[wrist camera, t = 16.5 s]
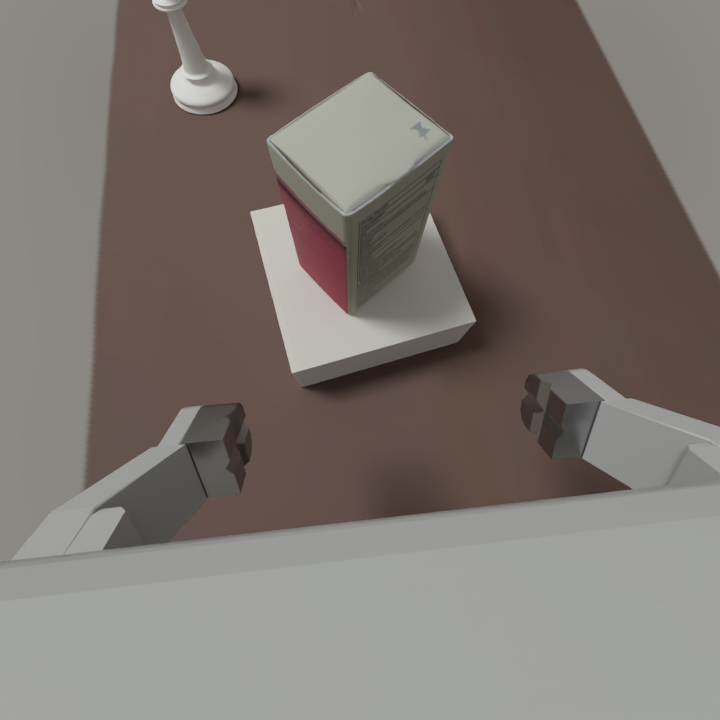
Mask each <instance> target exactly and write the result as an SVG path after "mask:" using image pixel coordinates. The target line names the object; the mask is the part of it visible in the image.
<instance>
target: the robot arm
mask: <svg viewBox="0 0 720 720" xmlns="http://www.w3.org/2000/svg"><path fill="white" fill-rule="evenodd" d="M525 389H526V390H527V392H528V394H527V395H526V396H525V397H524V399H523V400H522V403H521V416H522V420H523V423H524V425H525V426H526V428H527V429H528V430H529V432H531V433H533V434H535V435H537V436H539V439H538V443H539V444H540V446H541V447H542V448H543V449H544V451H545V452H546V453H547V454H548V456H549V457H550V458H551V459H563V458H575V457H583V459H584V460H586V461H588V462H589V463H591V464H593V465H594V466H596V467H597V468H599V469H601V470H602V471H604V472H606V473H607V474H609V475H611V476H612V477H614V478H616V479H617V480H619V481H620V482H622V483H624V484H625V485H627V486H629V487H630V488H632V490H623V491H615V492H606V493H597V494H588V495H580V496H571V497H562V498H553V499H545V500H536V501H527V502H519V503H510V504H501V505H492V506H483V507H474V508H466V509H457V510H448V511H439V512H430V513H422V514H413V515H404V516H395V517H386V518H378V519H369V520H361V521H352V522H343V523H335V524H326V525H318V526H309V527H301V528H292V529H283V530H275V531H266V532H258V533H249V534H240V535H231V536H222V537H213V538H204V539H195V540H186V541H177V542H169V541H170V540H171V539H172V538H173V537H174V536H175V535H176V533H177V532H178V531H179V530H180V529H181V528H182V527H183V526H184V525H185V524H186V523H187V521H188V520H189V519H190V518H191V517H192V516H193V515H194V514H195V513H196V512H197V511H198V510H199V508H200V507H201V506H202V505H203V504H204V503H205V502H206V501H207V498H211V497H218V496H225V495H233V494H240V493H241V490H242V486H243V483H244V479H245V476H246V472H245V468H244V466H245V465H246V464H247V463H248V462H249V461H250V457H251V451H252V440H251V433H250V430H249V427H247V426H246V425H245V424H244V423H243V422H244V418H245V412H244V409H243V405H241V404H240V403H230V404H217V405H204V406H193V407H185V408H183V409H181V410H180V412H179V414H178V415H177V417H176V418H175V420H174V421H173V423H172V425H171V426H170V428H169V429H168V431H167V433H166V434H165V436H164V437H163V439H162V440H161V442H160V444H159V445H158V447H153V448H150V449H148V450H147V451H145V452H144V453H142V454H141V455H139V456H138V457H136V458H134V459H133V460H131V461H130V462H128V463H127V464H125V465H124V466H122V467H120V468H119V469H117V470H116V471H114V472H113V473H111V474H110V475H108V476H107V477H105V478H103V479H102V480H100V481H99V482H97V483H96V484H94V485H93V486H91V487H90V488H88V489H86V490H85V491H83V492H82V493H80V494H79V495H77V496H76V497H74V498H72V499H71V500H69V501H68V502H66V503H65V504H63V505H62V506H60V507H59V508H57V509H56V510H54V511H52V512H51V513H50V514H49V515H48V516H47V517H46V519H45V520H44V521H43V522H42V523H41V525H40V526H39V527H38V528H37V529H36V531H35V532H34V533H33V534H32V536H31V537H30V538H29V539H28V541H27V542H26V543H25V544H24V545H23V546H22V548H21V549H20V550H19V551H18V553H17V554H16V555H15V556H14V557H13V559H12V560H11V561H3V562H0V720H720V427H718V426H715V425H712V424H709V423H706V422H703V421H700V420H696V419H693V418H690V417H687V416H684V415H681V414H678V413H675V412H672V411H669V410H666V409H663V408H660V407H657V406H654V405H651V404H648V403H644V402H641V401H638V400H635V399H632V398H630V399H626V398H624V397H623V396H622V395H620V394H619V393H618V392H616V391H615V390H614V389H612V388H611V387H610V386H608V385H607V384H605V383H604V382H603V381H601V380H600V379H599V378H597V377H596V376H595V375H593V374H592V373H591V372H589V371H588V370H586V369H582V368H579V369H572V370H564V371H558V372H549V373H541V374H532V375H529V376H528V378H527V379H526V383H525ZM168 542H169V543H168Z"/></svg>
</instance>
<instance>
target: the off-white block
mask: <svg viewBox="0 0 720 720" xmlns="http://www.w3.org/2000/svg"><path fill="white" fill-rule="evenodd" d="M250 213H251V217H252V221H253V225H254V228H255V232H256V236H257V240H258V244H259V248H260V252H261V255H262V259H263V263H264V267H265V271H266V275H267V279H268V283H269V286H270V290H271V294H272V298H273V302H274V306H275V310H276V314H277V317H278V321H279V325H280V329H281V333H282V337H283V341H284V344H285V348H286V352H287V356H288V360H289V364H290V368H291V372H292V374H293V376H294V377H295V379H296V380H297V382H298V383H299V385H300V386H301V387H305V386H308V385H312V384H315V383H319V382H322V381H326V380H329V379H333V378H336V377H339V376H343V375H346V374H350V373H353V372H357V371H360V370H364V369H367V368H371V367H374V366H377V365H381V364H384V363H388V362H391V361H395V360H398V359H402V358H405V357H408V356H412V355H415V354H419V353H422V352H426V351H429V350H433V349H436V348H440V347H443V346H446V345H450V344H453V343H457V342H458V341H459V340H460V339H461V338H462V337H463V335H464V334H465V333H466V332H467V331H468V330H469V329H470V328H471V327H472V325H473V324H474V323H475V322H476V319H475V317H474V314H473V312H472V310H471V307H470V305H469V303H468V300H467V298H466V296H465V293H464V291H463V289H462V286H461V284H460V282H459V279H458V277H457V275H456V272H455V270H454V268H453V265H452V263H451V261H450V258H449V256H448V254H447V251H446V249H445V247H444V244H443V242H442V240H441V238H440V235H439V233H438V231H437V228H436V226H435V224H434V221H433V219H432V217H431V214H430V213H429V216H428V219H427V222H426V226H425V229H424V232H423V235H422V238H421V241H420V244H419V248H418V251H417V254H416V257H415V260H414V262H413V263H412V264H411V265H410V266H409V267H407V268H406V269H405V270H404V271H403V272H402V273H401V274H400V275H398V276H397V277H396V278H395V279H394V280H392V281H391V282H390V283H389V284H388V285H387V286H385V287H384V288H383V289H382V290H381V291H380V292H378V293H377V294H376V295H375V296H374V297H373V298H371V299H370V300H369V301H368V302H366V303H365V304H364V305H363V306H362V307H360V308H359V309H358V310H357V311H355V312H354V313H353V314H347V313H346V312H345V311H344V310H343V309H342V308H341V307H340V306H339V305H337V304H336V303H335V302H334V301H333V300H332V299H331V298H330V297H329V296H328V295H327V294H326V293H325V292H324V291H323V290H322V288H321V287H320V286H319V285H318V284H317V283H316V282H315V281H314V280H313V279H312V278H311V277H310V276H309V275H308V273H307V272H306V271H305V270H304V269H303V268H302V267H301V266H300V264H299V260H298V257H297V253H296V249H295V245H294V241H293V238H292V234H291V230H290V226H289V222H288V219H287V215H286V211H285V207H284V204H282V205H278V206H274V207H269V208H265V209H260V210H256V211H252V212H250Z"/></svg>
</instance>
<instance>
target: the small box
mask: <svg viewBox="0 0 720 720" xmlns="http://www.w3.org/2000/svg"><path fill="white" fill-rule="evenodd" d="M452 141H453V136H452V135H451V134H450V133H448V132H447V131H445V130H444V129H443V128H442V127H440V126H439V125H438V124H437V123H435V121H433V120H432V119H431V118H430V117H428V116H427V115H426V114H425V113H423V112H422V111H421V110H420V109H419V108H417V107H416V106H415V105H413V104H412V103H411V102H410V101H408V100H407V99H406V98H404V97H403V96H402V95H401V94H400V93H398V92H397V91H395V90H394V89H393V88H391V87H390V86H389V85H387V84H386V83H385V82H384V81H382V80H381V79H380V78H378V77H377V76H376V75H375V74H373V73H371V72H368V73H366V74H364V75H362V76H361V77H359V78H358V79H356V80H354V81H353V82H351V83H350V84H348V85H346V86H345V87H343V88H342V89H340V90H338V91H337V92H336V93H334V94H333V95H331V96H329V97H328V98H326V99H325V100H323V101H322V102H320V103H319V104H317V105H316V106H314V107H312V108H311V109H309V110H308V111H307V112H305V113H304V114H302V115H301V116H299V117H298V118H296V119H294V120H293V121H292V122H290V123H289V124H287V125H286V126H284V127H283V128H281V129H280V130H279V131H277V132H276V133H274V134H273V135H271V136H270V137H268V138H267V144H268V149H269V152H270V156H271V159H272V163H273V167H274V170H275V174H276V177H277V181H278V185H279V188H280V192H281V196H282V200H283V203H284V207H285V211H286V215H287V219H288V222H289V226H290V230H291V234H292V238H293V241H294V245H295V249H296V253H297V257H298V260H299V264H300V266H301V267H302V268H303V269H304V270H305V271H306V272H307V273H308V275H309V276H310V277H311V278H312V279H313V280H314V281H315V282H316V283H317V284H318V285H319V286H320V287H321V288H322V290H323V291H324V292H325V293H326V294H327V295H328V296H329V297H330V298H331V299H332V300H333V301H334V302H335V303H336V304H337V305H339V306H340V307H341V308H342V309H343V310H344V311H345V312H346V313H347V314H353V313H354V312H355V311H357V310H358V309H359V308H360V307H362V306H363V305H364V304H365V303H366V302H368V301H369V300H370V299H371V298H373V297H374V296H375V295H376V294H377V293H378V292H380V291H381V290H382V289H383V288H384V287H385V286H387V285H388V284H389V283H390V282H391V281H392V280H394V279H395V278H396V277H397V276H398V275H400V274H401V273H402V272H403V271H404V270H405V269H406V268H407V267H409V266H410V265H411V264H412V263H413V262H414V260H415V257H416V254H417V251H418V248H419V244H420V241H421V238H422V235H423V232H424V229H425V226H426V222H427V219H428V216H429V213H430V210H431V206H432V203H433V200H434V197H435V194H436V190H437V187H438V185H439V181H440V178H441V175H442V172H443V169H444V166H445V163H446V159H447V156H448V153H449V150H450V147H451V144H452Z"/></svg>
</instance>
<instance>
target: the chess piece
mask: <svg viewBox="0 0 720 720" xmlns="http://www.w3.org/2000/svg"><path fill="white" fill-rule="evenodd" d="M152 2H153V5H154V7H155V8H156V9H158V10H160V11H162V12H167V15H168V18H169V21H170V24H171V27H172V30H173V33H174V36H175V39H176V42H177V46H178V49H179V52H180V56H181V59H182V63H183V64H182V66H181V67H180V68H179V69H178V70H177V71H176V72H175V73H174V75H173V77H172V79H171V91H172V93H173V97H174V100H175V102H176V103H177V105H178V106H179V107H180V108H182V109H183V110H185V111H187V112H189V113H193V114H199V115H207V114H213V113H216V112H219V111H221V110H223V109H225V108H227V107H228V106H229V105H230V104H231V103H232V102H233V101H234V99H235V97H236V95H237V84H236V81H235V79H234V77H233V74H232V73H231V71H230V70H229V69H228V68H227V67H226V66H225V65H223V64H221V63H219V62H216V61H213V60H207V59H205V57H204V55H203V53H202V52H201V49H200V47H199V45H198V43H197V41H196V39H195V37H194V35H193V33H192V31H191V29H190V27H189V24H188V22H187V20H186V18H185V16H184V13H183V11H182V8H183V7H184V6H185V5H186V4H187V0H152Z"/></svg>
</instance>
